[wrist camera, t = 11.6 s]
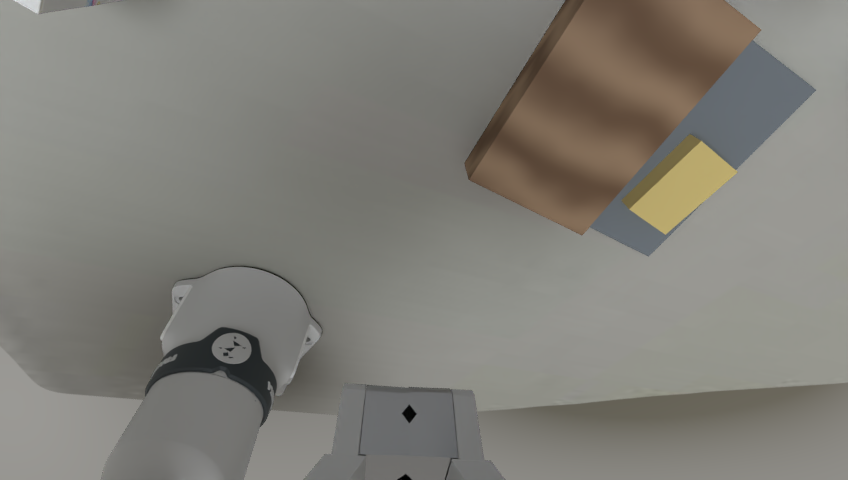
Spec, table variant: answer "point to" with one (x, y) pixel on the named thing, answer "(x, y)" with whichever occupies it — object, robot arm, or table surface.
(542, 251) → the table surface
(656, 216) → the yellow rectangular block
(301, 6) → the table surface
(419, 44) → the table surface
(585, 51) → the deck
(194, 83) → the table surface
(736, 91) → the mat
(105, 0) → the ink cartridge box
